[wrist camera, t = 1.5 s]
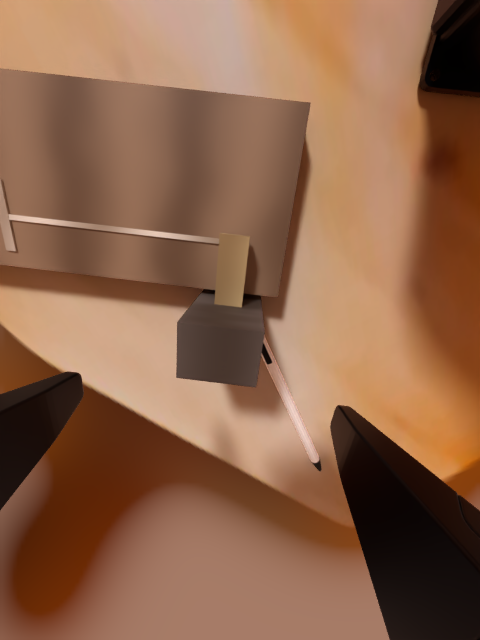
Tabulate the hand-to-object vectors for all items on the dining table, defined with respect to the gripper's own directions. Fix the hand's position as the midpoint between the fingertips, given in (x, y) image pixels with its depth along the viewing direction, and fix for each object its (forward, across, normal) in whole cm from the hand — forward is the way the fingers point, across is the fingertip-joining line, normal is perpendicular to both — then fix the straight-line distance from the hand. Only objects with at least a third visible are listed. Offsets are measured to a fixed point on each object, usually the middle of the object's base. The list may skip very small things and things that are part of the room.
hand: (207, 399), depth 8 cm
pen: (+11, -5, +7) cm, 14 cm away
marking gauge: (+10, 0, -2) cm, 10 cm away
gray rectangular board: (+10, +9, -7) cm, 15 cm away
